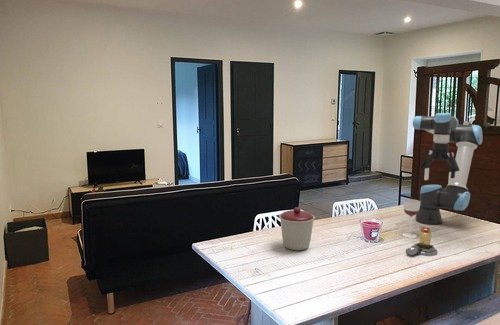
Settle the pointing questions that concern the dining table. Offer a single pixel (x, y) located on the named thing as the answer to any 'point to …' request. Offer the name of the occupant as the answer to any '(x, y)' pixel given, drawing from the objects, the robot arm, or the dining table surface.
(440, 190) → the robot arm
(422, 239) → the yellow glass cylinder
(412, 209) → the wineglass
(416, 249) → the grey flat curved piece
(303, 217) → the canister
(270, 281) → the dining table surface
